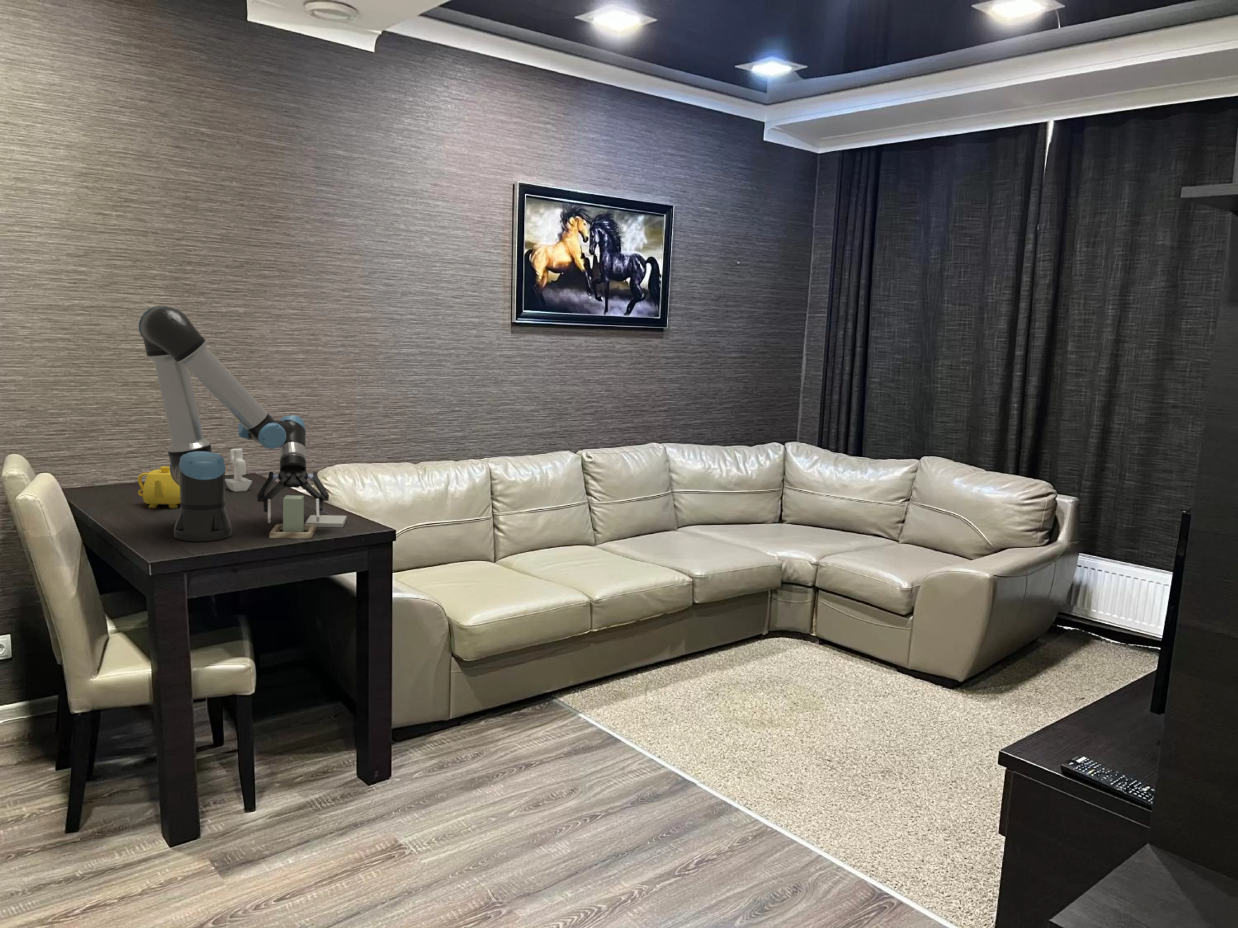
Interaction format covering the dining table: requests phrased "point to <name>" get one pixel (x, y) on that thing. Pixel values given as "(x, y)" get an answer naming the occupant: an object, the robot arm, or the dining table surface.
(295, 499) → the sage block
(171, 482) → the teapot
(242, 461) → the figurine
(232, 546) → the dining table surface
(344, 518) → the grey mat
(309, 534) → the board
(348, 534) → the dining table surface
